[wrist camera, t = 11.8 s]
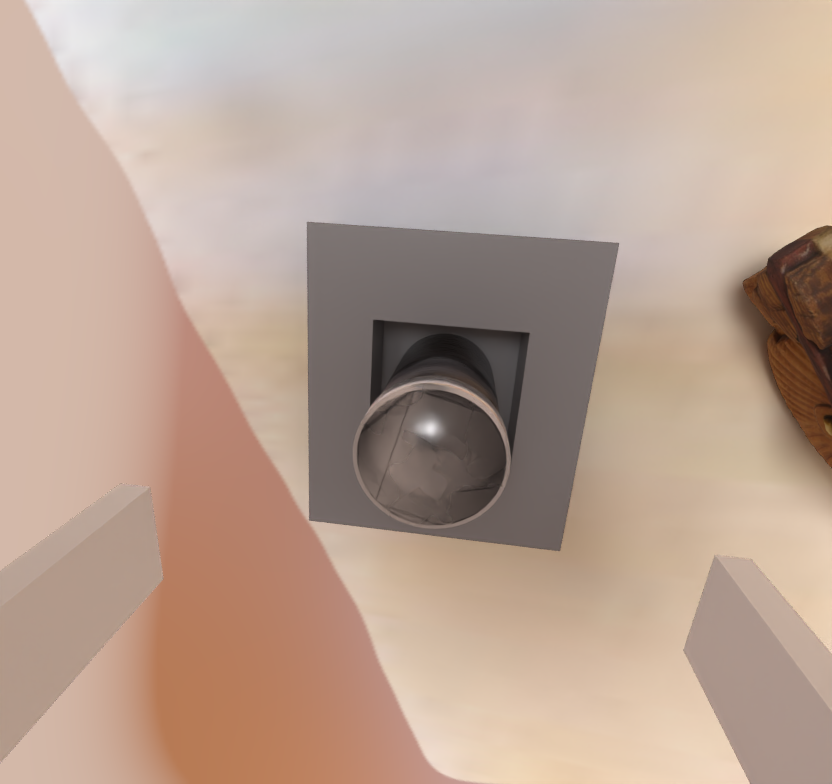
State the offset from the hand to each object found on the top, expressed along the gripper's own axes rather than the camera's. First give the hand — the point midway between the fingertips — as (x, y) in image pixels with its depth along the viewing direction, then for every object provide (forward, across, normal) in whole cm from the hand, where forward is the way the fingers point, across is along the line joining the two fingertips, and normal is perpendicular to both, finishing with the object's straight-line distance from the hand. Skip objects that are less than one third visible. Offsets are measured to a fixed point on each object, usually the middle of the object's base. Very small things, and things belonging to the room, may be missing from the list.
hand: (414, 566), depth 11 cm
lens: (+16, 0, -1) cm, 16 cm away
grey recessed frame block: (+17, 0, -1) cm, 17 cm away
